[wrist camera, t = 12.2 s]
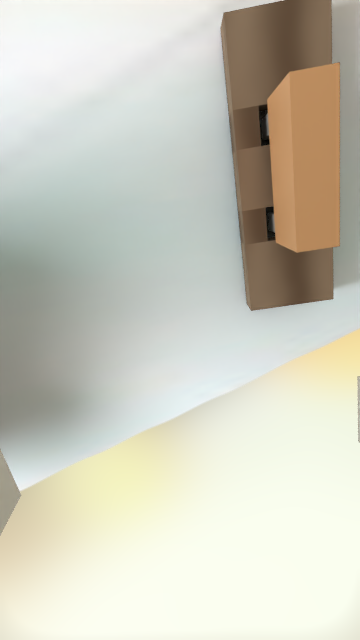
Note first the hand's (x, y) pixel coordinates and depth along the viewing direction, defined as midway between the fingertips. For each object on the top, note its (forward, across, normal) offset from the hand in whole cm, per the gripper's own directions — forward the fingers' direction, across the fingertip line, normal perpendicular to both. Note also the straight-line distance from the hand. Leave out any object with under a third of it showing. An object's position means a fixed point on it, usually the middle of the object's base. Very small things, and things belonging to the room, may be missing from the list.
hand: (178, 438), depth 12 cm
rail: (+24, -11, -8) cm, 28 cm away
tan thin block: (+24, -11, -8) cm, 28 cm away
